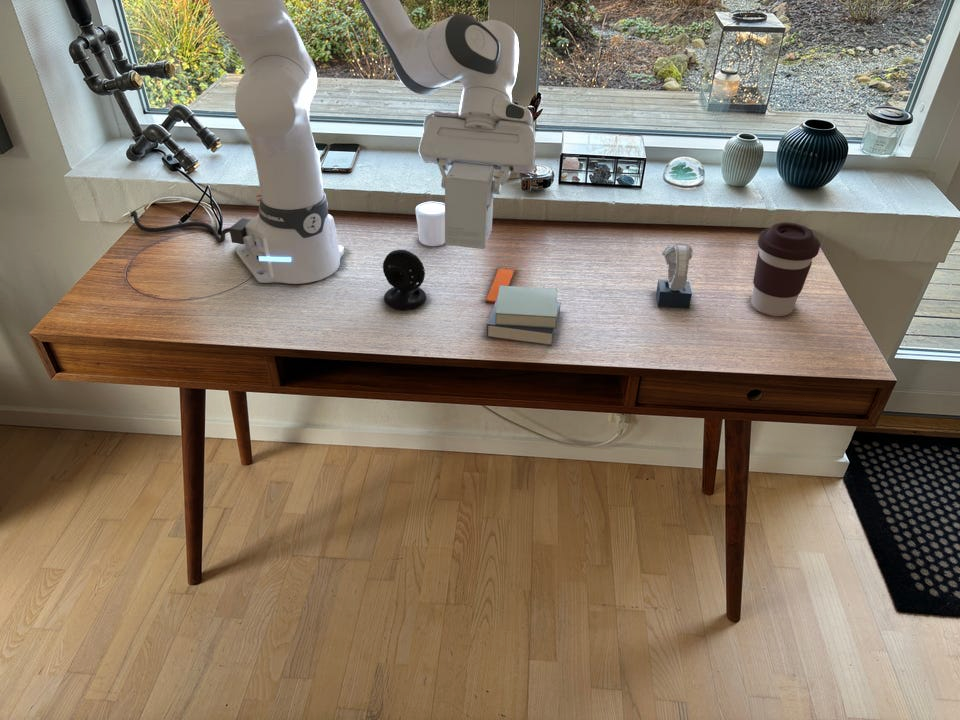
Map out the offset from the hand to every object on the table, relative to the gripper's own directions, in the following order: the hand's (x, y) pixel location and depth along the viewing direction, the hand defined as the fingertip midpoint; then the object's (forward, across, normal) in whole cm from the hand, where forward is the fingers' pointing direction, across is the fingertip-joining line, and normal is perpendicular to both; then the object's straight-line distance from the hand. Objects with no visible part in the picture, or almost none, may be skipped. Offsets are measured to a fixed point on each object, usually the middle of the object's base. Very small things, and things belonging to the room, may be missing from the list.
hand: (470, 190), depth 134 cm
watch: (+11, +37, +15) cm, 41 cm away
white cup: (+2, -11, +25) cm, 27 cm away
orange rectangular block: (+13, +6, +14) cm, 20 cm away
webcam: (+19, -10, +8) cm, 23 cm away
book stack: (+21, +12, +5) cm, 25 cm away
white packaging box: (+7, 0, +6) cm, 9 cm away
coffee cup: (+9, +54, +17) cm, 58 cm away
